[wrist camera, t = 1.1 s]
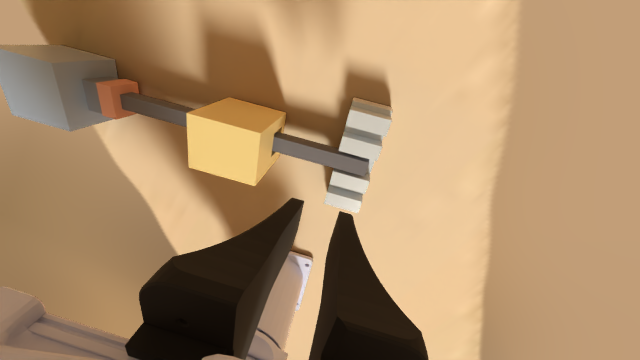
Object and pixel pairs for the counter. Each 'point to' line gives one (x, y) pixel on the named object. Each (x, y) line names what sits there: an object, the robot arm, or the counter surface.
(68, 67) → the block
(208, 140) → the sleeve
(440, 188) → the counter surface
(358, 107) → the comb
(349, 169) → the red-tipped gray rod
